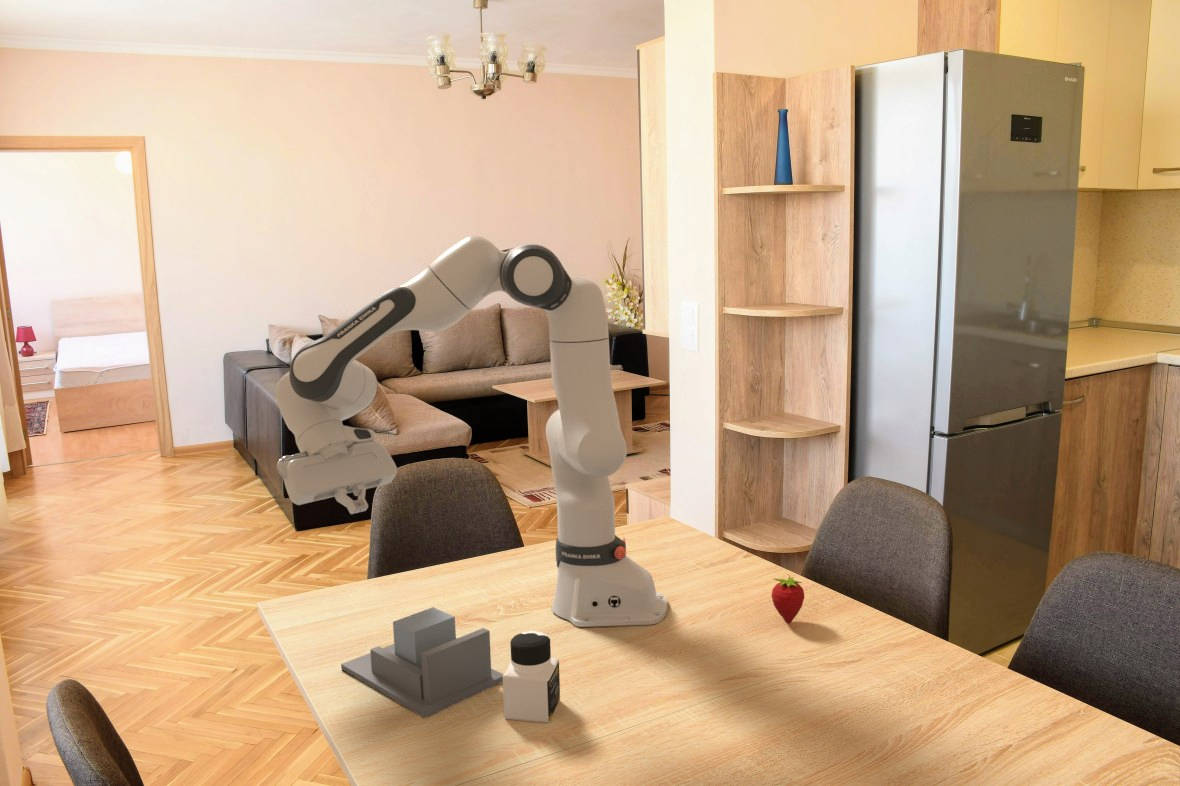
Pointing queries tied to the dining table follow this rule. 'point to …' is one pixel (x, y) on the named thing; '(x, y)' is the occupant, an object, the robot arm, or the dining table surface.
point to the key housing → (430, 673)
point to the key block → (422, 633)
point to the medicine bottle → (531, 679)
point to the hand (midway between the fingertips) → (359, 510)
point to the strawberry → (788, 598)
